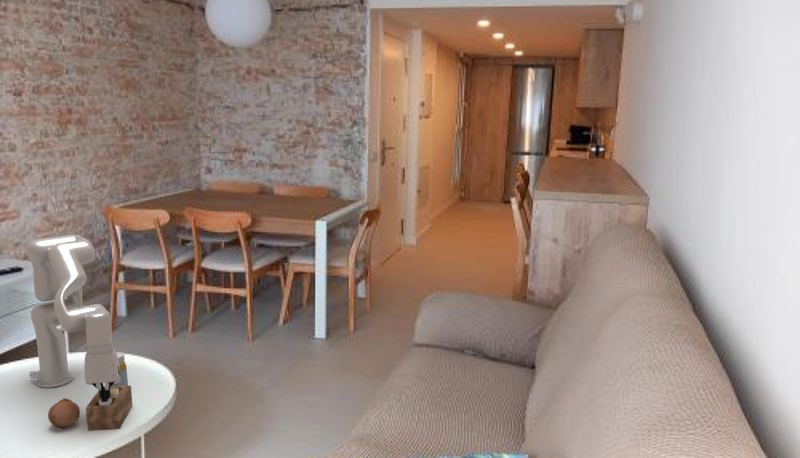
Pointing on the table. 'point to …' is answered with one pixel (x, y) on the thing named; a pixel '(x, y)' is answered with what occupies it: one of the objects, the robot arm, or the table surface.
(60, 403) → the onion
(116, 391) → the peg birch
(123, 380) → the bottle
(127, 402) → the socket block
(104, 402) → the peg metal
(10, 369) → the table surface
